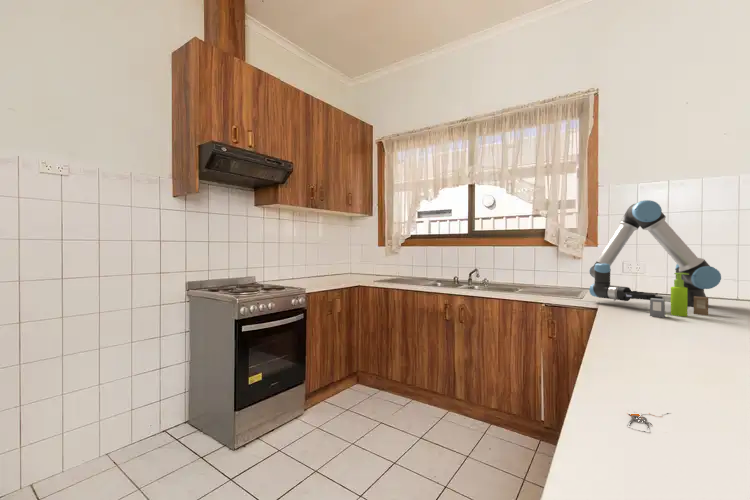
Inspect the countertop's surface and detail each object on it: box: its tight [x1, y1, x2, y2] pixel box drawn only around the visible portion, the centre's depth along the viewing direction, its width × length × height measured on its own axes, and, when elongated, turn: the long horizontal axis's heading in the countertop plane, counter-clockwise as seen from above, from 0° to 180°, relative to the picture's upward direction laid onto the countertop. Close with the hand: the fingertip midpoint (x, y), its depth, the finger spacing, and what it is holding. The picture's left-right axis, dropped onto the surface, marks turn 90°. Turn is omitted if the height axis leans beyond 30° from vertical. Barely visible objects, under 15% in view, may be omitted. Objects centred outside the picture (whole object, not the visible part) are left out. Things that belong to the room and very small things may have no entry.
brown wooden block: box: [693, 296, 709, 316], centre depth 166 cm, size 5×5×8 cm
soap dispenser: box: [670, 272, 689, 317], centre depth 163 cm, size 6×7×20 cm
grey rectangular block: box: [649, 298, 666, 319], centre depth 161 cm, size 5×5×8 cm
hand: (671, 299), depth 166 cm, fingers closed
